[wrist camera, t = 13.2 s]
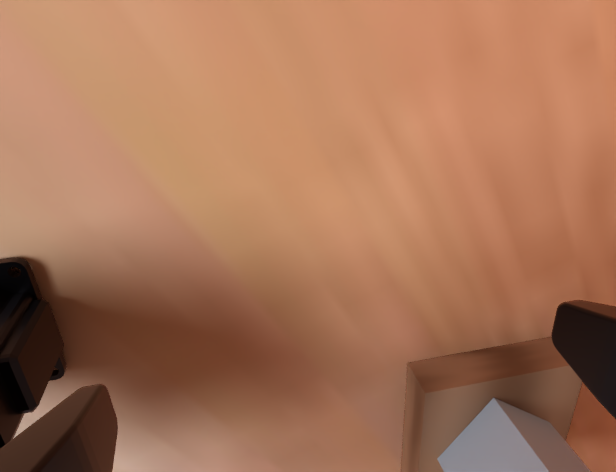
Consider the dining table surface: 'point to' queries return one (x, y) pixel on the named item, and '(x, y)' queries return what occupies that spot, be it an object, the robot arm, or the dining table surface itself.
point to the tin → (509, 444)
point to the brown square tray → (482, 394)
